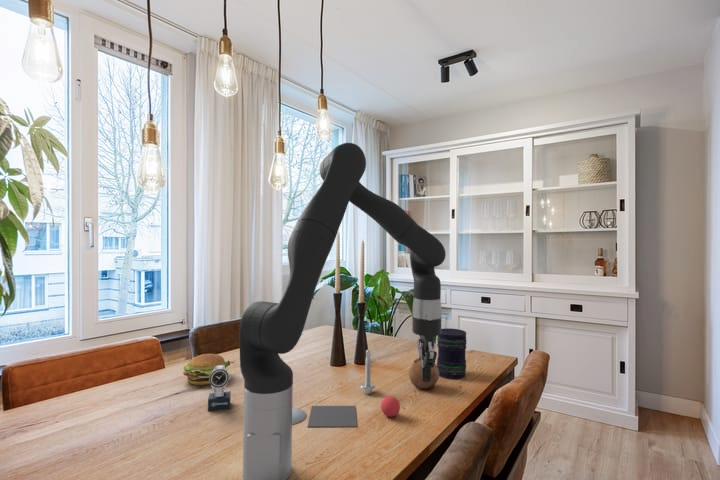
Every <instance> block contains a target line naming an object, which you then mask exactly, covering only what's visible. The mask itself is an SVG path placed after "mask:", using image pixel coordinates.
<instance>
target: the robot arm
mask: <svg viewBox="0 0 720 480" xmlns="http://www.w3.org/2000/svg"><path fill="white" fill-rule="evenodd" d="M366 158H367V157H366V155H365V152H364V150H363V149H362V148H361V147H360V146H359V145H358V144H356V143H353V142H344V143H341V144H339V145H337V146H336V147H334V148H333V149H332V150H331V151H330V152H329V153H328V155H326V156H325V157H324V159H323V160H322V161H321V162H320V165H319V170H318V171H319V174H320V175H319V176H320V178H321V180H322V181H323V182H322V184H321V186H320V187H319V188H318V190H317V191H316V193H315V194H314V195H313V196H312V198H311V199H310V201H309V202H308V204H307V205H306V207H305V208H304V209H303V210H302V212H301V214H300V215H299V217H298V219H297V221H296V223H295V225H294V228H293V229H292V232H291V233H290V236H289V238H288V241H287V242H288V243H287V258H288V264H289V278H288V282H287V285H286V289H284V290H285V291H284V293H283V295H282V297H281V298H280V301H279V302H271V301H255V302H252V303H251V304H249V305H248V306H247V307H246V309H245V310H244V311H243V313H242V315H241V319H240V322H239V323H240V324H239V333H238V338H239V340H238V342H239V345H238V347H239V368H240V373H241V375H242V378H243V380H244V384H243V385H244V386H243V388H244V390H243V395H244V396H243V439H242V440H243V441H242V442H243V443H242V444H243V445H242V449H243V451H242V458H243V459H242V479H243V480H288V478H289V477H290V475H291V474H292V470H293V469H292V465H293V464H292V462H293V461H292V460H293V458H292V457H293V455H292V454H293V450H292V449H293V447H292V446H293V424H292V408H293V397H294V393H293V391H294V389H293V388H294V387H293V386H294V385H293V384H294V372H293V370H292V368H291V367H290V365H288V364H287V363H286V362H285V361H284V360H283V359H282V358H281V356H280V355H281V354H282V355H283V354H287V353H289V352H291V351H292V350H294V348H295V346H297V344H298V343H299V340H300V339H301V337H302V334H303V331H304V328H305V325H306V322H307V318H308V315H309V311H310V308H311V304H312V301H313V299H314V298H313V297H314V295H315V291H316V288H317V285H318V283H319V280H320V277H321V275H322V272H323V269H324V267H325V264H326V262H327V259H328V257H329V255H330V252H331V250H332V247H333V246H334V244H335V240H336V238H337V236H338V232H339V230H340V226H341V224H342V222H343V219H344V217H345V213H346V211H347V208H348V206H349V202H350V203H351V204H352V205H354V206H355V207H356V208H358V209H359V210H360V211H362V212H364V213H365V214H366V215H367V216H368V217H370V218H372V220H374V221H375V222H376V223H377V224H378V225H379V226H380V227H381V228H382V229H383V230H384V231H385V232H386V233H387V234H388V235H390V237H391V238H392V239H394V241H395V242H397V243H398V244H400V245H402V246H405V247H407V248H408V250H409V251H410V252H409V254H410V255H409V261H410V268H411V273H412V278H413V300H412V302H413V303H412V329H411V330H412V333H413V334H415V335H417V336H419V338H418V339H417V342H416V343H417V348H418V351H417V352H418V358H419V360H420V361H421V366H422V380H423V382H430V381H431V368H433V367H434V364H436V359H437V357H438V352H437V351H435V349H436V346H437V344H436V341H434V340H435V339H434V337H435V336H438V335H439V334H441V329H442V301H441V297H442V296H441V293H442V291H441V288H442V285H441V284H442V283H441V279H440V278H439V277H438V276H437V275H436V271H435V267H439V266H440V265H442V264H443V263H444V261H445V259H446V249H445V246H444V245H443V243H442V242H441V241H440V240H439V239H438V238H437V237H436V236H434V235H432V234H431V233H430V232H429V231H427V229H425V228H423V227H422V226H420V225H419V224H418V223H417V222H416V221H415V220H414V219H413V218H412V216H410V215H409V214H408V212H406V211H405V210H404V209H403V208H402V207H401V206H399V205H398V204H396V203H395V202H394V201H391V200H390V199H387V198H385V197H383V196H382V195H381V196H380V195H378V194H376V193H374V192H373V191H371V190H369V189H368V188H367V187H365V186H364V185H363V183H361V182H360V181H361V178H362V177H363V175H364V173H365V171H366V167H367V160H366ZM279 354H280V355H279Z"/></svg>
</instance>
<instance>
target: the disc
mask: <svg viewBox="0 0 720 480" xmlns="http://www.w3.org/2000/svg"><path fill="white" fill-rule="evenodd" d="M306 418H307V413H306V412H305V410H304V409H301V408H298V407H292V425H296V424H299V423H301V422H303V421H304V420H305V419H306Z"/></svg>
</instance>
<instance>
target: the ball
mask: <svg viewBox="0 0 720 480" xmlns="http://www.w3.org/2000/svg"><path fill="white" fill-rule="evenodd" d="M380 409H381V412H382V413H383V415H385V416H387V417H389V418H393V417H396V416H397V415H398V414H399V413H400V410H401V405H400V401H399V400H398V398H396V397H395V396H392V395H389V396H386V397H384V398H383V400H382V401H381V403H380Z"/></svg>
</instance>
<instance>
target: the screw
mask: <svg viewBox="0 0 720 480" xmlns="http://www.w3.org/2000/svg"><path fill="white" fill-rule="evenodd" d="M371 360H372V359H371V350H370V349H366V350H365V359H364V361H365V363H364V365H365V366H364V367H365V368H364V382H361V383H360V384H359V388H360V389H362V393H363V394H365V395H370V394H372V393H373V390H375V389H376V387H377V385H376V384H375V383H374V382H372V373H371V372H372V369H371V368H372V361H371Z"/></svg>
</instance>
